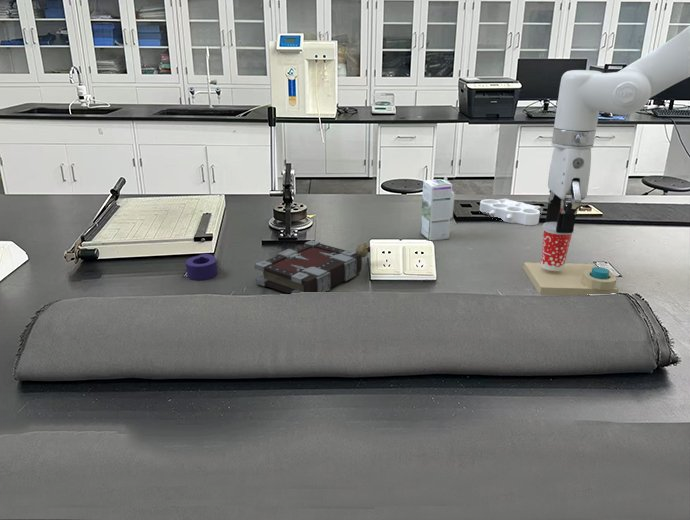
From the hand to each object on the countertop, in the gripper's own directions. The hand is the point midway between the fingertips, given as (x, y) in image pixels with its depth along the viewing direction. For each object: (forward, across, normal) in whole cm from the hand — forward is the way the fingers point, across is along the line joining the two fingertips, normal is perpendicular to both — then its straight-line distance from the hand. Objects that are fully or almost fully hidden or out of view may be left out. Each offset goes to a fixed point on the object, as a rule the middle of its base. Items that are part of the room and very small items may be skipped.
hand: (558, 226), depth 109 cm
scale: (+12, -2, -3) cm, 12 cm away
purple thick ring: (+12, 0, +75) cm, 76 cm away
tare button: (+9, -6, -7) cm, 13 cm away
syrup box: (+12, +25, +22) cm, 35 cm away
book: (+12, -1, +49) cm, 51 cm away
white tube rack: (+12, +44, -2) cm, 46 cm away
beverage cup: (+9, 0, 0) cm, 9 cm away
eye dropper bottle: (+12, +41, +18) cm, 46 cm away
